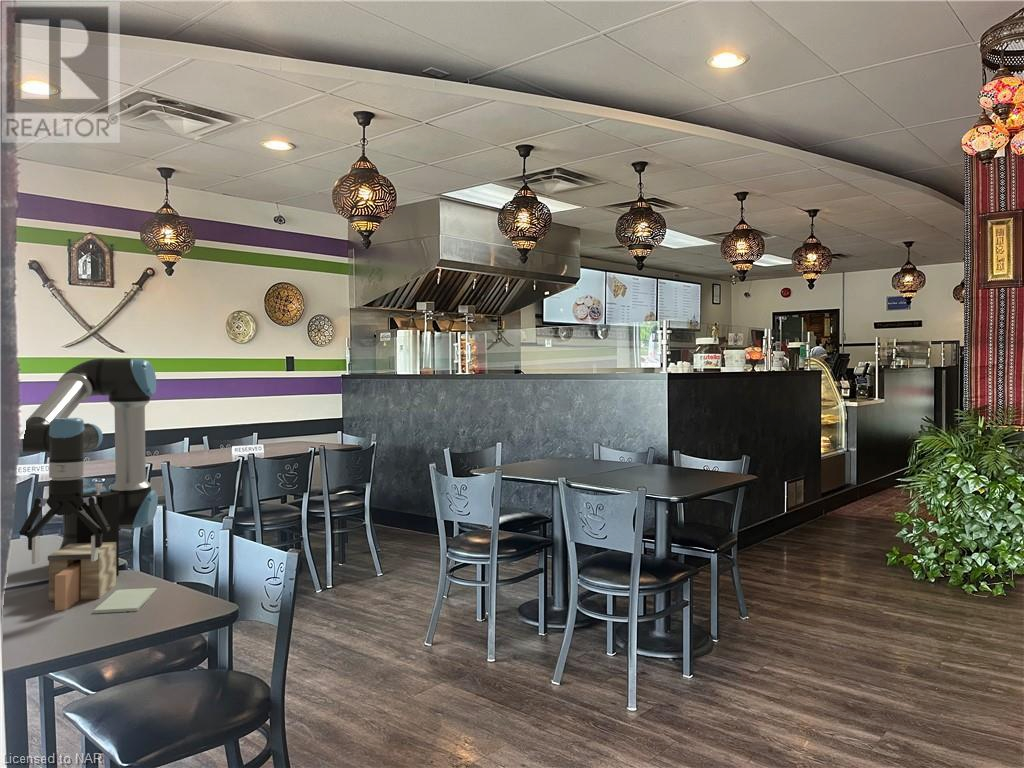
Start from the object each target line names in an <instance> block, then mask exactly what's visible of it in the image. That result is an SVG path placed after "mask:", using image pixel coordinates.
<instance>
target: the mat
mask: <svg viewBox="0 0 1024 768" xmlns="http://www.w3.org/2000/svg"><path fill="white" fill-rule="evenodd" d="M156 590H157V591H158V587H149V588H146V587H145V588H129V589H125V588H124V589H116V590H115V591H114V592H113V593H112V594H111V595H109V596H108V597H107V598H106V599H105V600H104V601H103V602H102V603H100V604H99V605H98V606H97V607H96V608H94V609H93V614H106V613H110V614H111V613H127V611H129V612H138V611H139V610H140V609H141V608H142V607H143V606H144V605H145V604H146V603H147V602H146V601H147V600H148V599H149V600H150V599H151V597H152V596H153V595H154V594H155V593H156V592H157V591H156ZM155 591H156V592H155ZM154 592H155V593H154ZM153 593H154V594H153ZM152 594H153V595H152ZM151 595H152V596H151ZM150 596H151V597H150ZM149 600H148V601H149ZM145 602H146V603H145ZM144 603H145V604H144ZM143 604H144V605H143ZM142 605H143V606H142ZM141 606H142V607H141ZM140 607H141V608H140ZM139 608H140V609H139ZM138 609H139V610H138ZM137 610H138V611H137Z"/></svg>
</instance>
